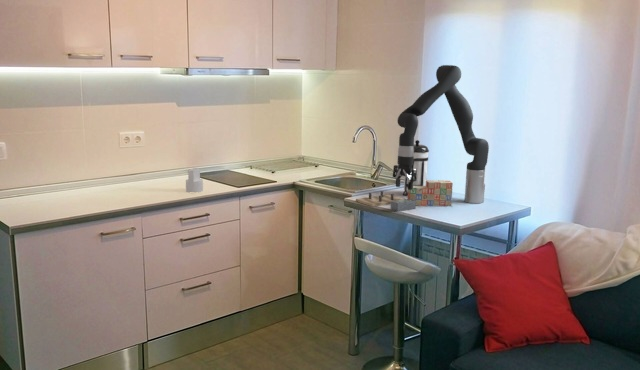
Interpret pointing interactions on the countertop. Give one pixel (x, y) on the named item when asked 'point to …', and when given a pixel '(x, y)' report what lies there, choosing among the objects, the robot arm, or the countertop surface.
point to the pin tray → (378, 199)
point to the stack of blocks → (432, 193)
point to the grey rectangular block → (403, 205)
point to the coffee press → (418, 166)
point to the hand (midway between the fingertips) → (403, 188)
